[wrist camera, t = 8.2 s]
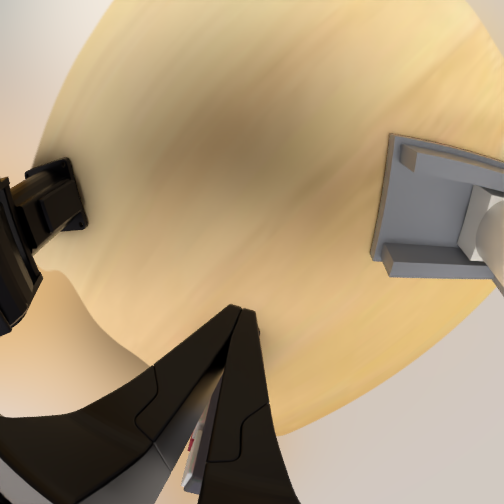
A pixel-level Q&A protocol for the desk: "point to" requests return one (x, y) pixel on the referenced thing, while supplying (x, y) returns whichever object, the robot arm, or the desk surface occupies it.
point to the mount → (430, 209)
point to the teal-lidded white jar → (485, 229)
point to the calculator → (200, 445)
